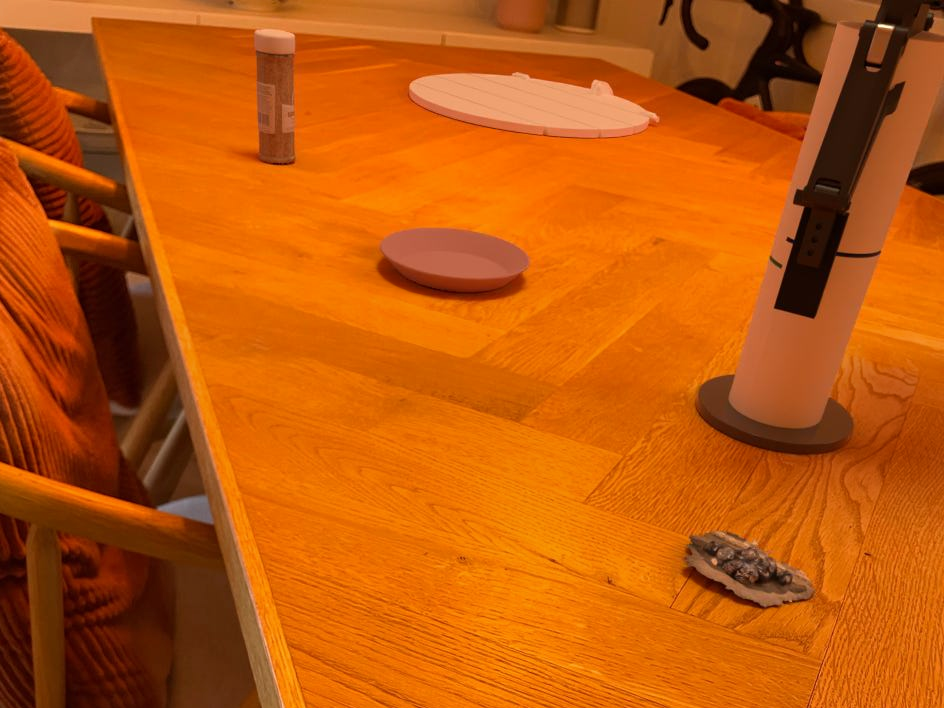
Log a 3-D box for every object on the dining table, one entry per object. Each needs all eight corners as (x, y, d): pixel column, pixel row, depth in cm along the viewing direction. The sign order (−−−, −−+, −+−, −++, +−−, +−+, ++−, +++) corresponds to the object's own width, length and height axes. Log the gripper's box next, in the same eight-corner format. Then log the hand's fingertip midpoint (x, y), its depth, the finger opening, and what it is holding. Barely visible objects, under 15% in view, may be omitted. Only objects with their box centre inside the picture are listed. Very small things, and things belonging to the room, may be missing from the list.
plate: (548, 299, 92) (551, 278, 90) (398, 300, 88) (399, 277, 86) (500, 248, 102) (503, 228, 101) (365, 246, 98) (365, 226, 97)
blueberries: (688, 529, 62) (695, 503, 61) (816, 560, 61) (826, 534, 60) (674, 586, 57) (682, 559, 56) (814, 622, 56) (825, 594, 54)
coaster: (862, 411, 79) (866, 402, 79) (834, 470, 71) (838, 460, 70) (719, 370, 83) (721, 361, 82) (675, 421, 74) (678, 411, 74)
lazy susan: (531, 77, 183) (533, 56, 181) (699, 127, 162) (705, 104, 160) (359, 86, 160) (360, 61, 158) (530, 146, 139) (534, 119, 137)
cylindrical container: (778, 435, 72) (910, 42, 57) (709, 395, 77) (813, 19, 61) (840, 418, 76) (980, 43, 60) (771, 380, 80) (884, 22, 65)
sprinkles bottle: (300, 164, 119) (300, 36, 111) (264, 165, 117) (261, 34, 109) (288, 154, 122) (287, 28, 114) (252, 155, 120) (249, 27, 112)
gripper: (898, -88, 67) (800, 234, 80) (828, -94, 49) (717, 321, 62) (1014, -72, 65) (893, 256, 78) (984, -73, 47) (835, 354, 60)
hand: (815, 286), depth 70 cm, fingers open, 13 cm apart
